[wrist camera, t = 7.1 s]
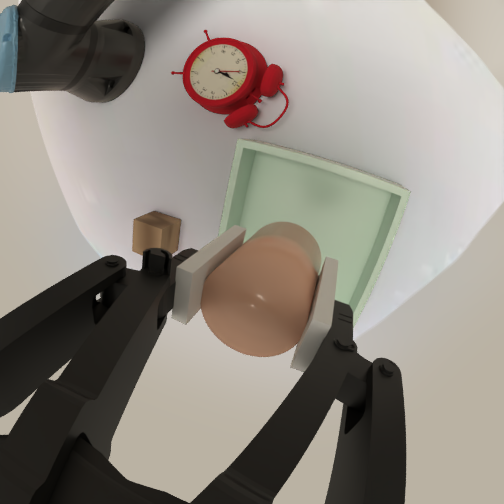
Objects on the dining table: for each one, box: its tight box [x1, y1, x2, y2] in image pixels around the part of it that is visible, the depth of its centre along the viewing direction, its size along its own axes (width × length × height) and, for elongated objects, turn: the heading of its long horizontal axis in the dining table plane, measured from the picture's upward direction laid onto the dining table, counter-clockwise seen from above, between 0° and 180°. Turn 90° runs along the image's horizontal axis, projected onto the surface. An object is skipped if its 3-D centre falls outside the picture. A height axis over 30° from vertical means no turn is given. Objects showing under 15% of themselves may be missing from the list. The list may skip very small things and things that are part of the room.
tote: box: [218, 139, 411, 328], centre depth 33 cm, size 19×20×6 cm
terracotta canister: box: [200, 222, 322, 357], centre depth 16 cm, size 5×5×7 cm
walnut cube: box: [132, 211, 181, 255], centre depth 40 cm, size 5×5×5 cm
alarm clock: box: [171, 30, 289, 128], centre depth 29 cm, size 10×6×15 cm
